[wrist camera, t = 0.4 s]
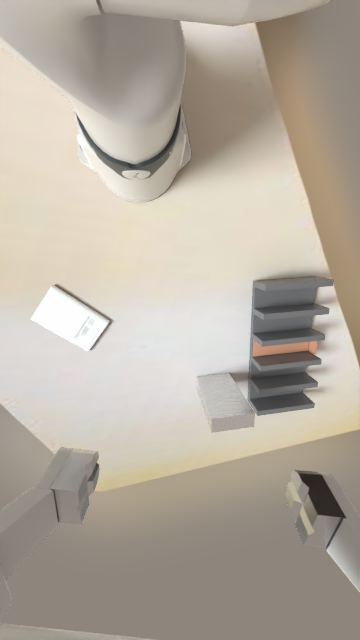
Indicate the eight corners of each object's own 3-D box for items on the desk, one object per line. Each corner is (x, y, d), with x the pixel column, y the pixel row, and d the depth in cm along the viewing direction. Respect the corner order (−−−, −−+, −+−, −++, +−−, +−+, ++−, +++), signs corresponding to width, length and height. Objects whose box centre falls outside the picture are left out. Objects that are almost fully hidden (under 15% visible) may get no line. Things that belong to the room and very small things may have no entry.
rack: (253, 281, 47) (265, 284, 42) (316, 276, 49) (336, 279, 44) (247, 400, 57) (257, 415, 51) (301, 393, 58) (316, 407, 53)
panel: (196, 376, 53) (211, 419, 39) (229, 372, 54) (254, 413, 40) (196, 387, 54) (211, 432, 40) (228, 383, 54) (253, 426, 41)
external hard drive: (55, 284, 43) (110, 320, 47) (34, 317, 45) (89, 349, 48) (51, 285, 42) (109, 322, 45) (29, 319, 43) (87, 352, 47)
